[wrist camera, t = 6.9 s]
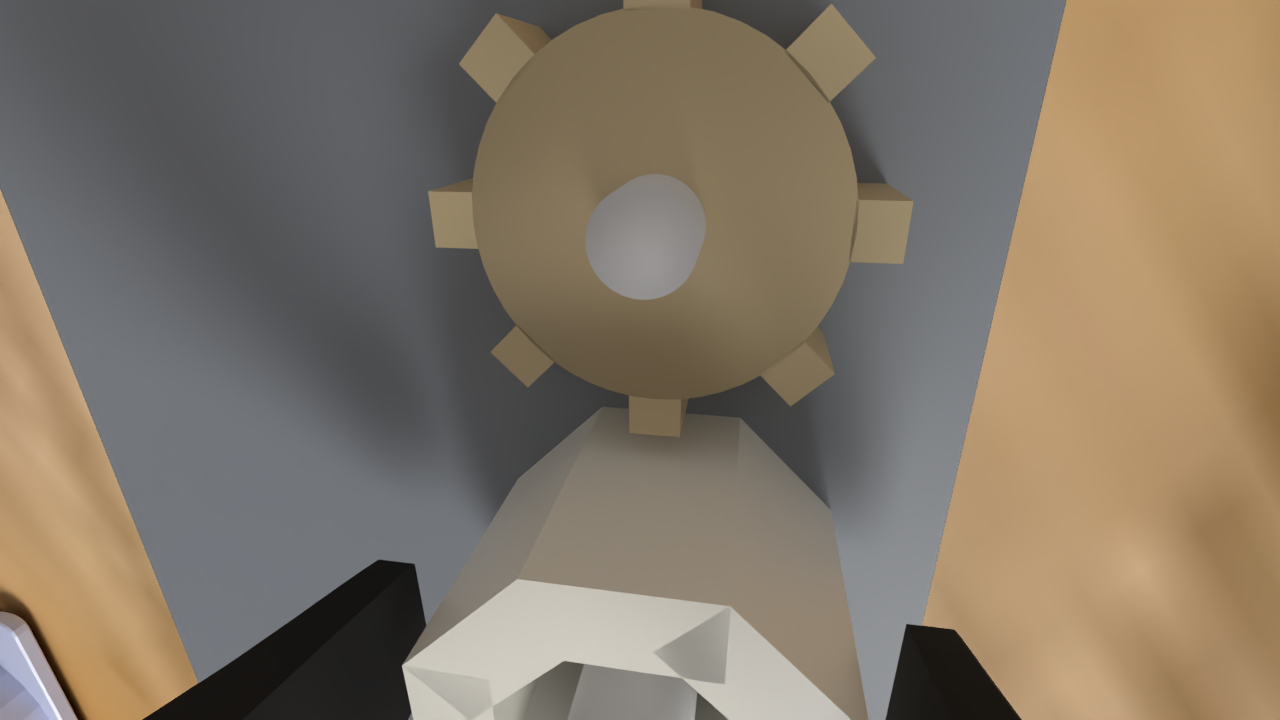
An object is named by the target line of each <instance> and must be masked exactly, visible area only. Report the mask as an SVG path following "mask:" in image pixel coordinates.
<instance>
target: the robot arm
mask: <svg viewBox="0 0 1280 720" xmlns="http://www.w3.org/2000/svg"><path fill="white" fill-rule="evenodd" d="M425 628H426V621H425V615H424V610H423V605H422V599H421V594H420V589H419V584H418V578H417V573H416V568H415V564H412V563H404V562H396V561H388V560H377V561H376V562H374V563H373V564H371V565H369V566H368V567H366V568H365V569H363V570H362V571H360V572H359V573H358V574H356V575H355V576H353V577H352V578H350V579H349V580H347V581H346V582H345V583H343V584H342V585H340V586H339V587H337V588H336V589H335V590H333V591H332V592H330V593H329V594H328V595H326V596H325V597H323V598H322V599H321V600H319V601H318V602H316V603H315V604H313V605H312V606H311V607H309V608H308V609H306V610H305V611H304V612H302V613H301V614H299V615H298V616H297V617H295V618H294V619H292V620H291V621H289V622H288V623H287V624H285V625H284V626H282V627H281V628H279V629H278V630H276V631H275V632H274V633H272V634H271V635H269V636H268V637H266V638H265V639H264V640H262V641H261V642H259V643H258V644H256V645H255V646H253V647H252V648H251V649H249V650H248V651H246V652H245V653H243V654H242V655H241V656H239V657H238V658H236V659H235V660H233V661H232V662H230V663H229V664H227V665H226V666H224V667H223V668H221V669H220V670H218V671H217V672H215V673H214V674H212V675H210V676H209V677H207V678H206V679H204V680H203V681H201V682H200V683H198V684H197V685H195V686H194V687H192V688H190V689H189V690H187V691H186V692H184V693H183V694H181V695H180V696H178V697H177V698H175V699H174V700H172V701H171V702H169V703H167V704H166V705H164V706H163V707H161V708H160V709H158V710H157V711H155V712H154V713H152V714H151V715H149V716H147V717H146V718H144V719H143V720H408V719H409V717H410V715H411V712H412V711H411V706H410V701H409V697H408V692H407V687H406V682H405V678H404V673H403V668H402V665H403V663H404V662H405V660H406V658H407V657H408V655H409V654H410V652H411V650H412V649H413V647H414V646H415V644H416V642H417V641H418V639H419V637H420V636H421V634H422V633H423V631H424V629H425ZM0 720H78V719H77V717H76V715H75V713H74V711H73V709H72V707H71V705H70V703H69V702H68V700H67V698H66V696H65V694H64V692H63V690H62V688H61V686H60V684H59V683H58V681H57V679H56V677H55V675H54V673H53V671H52V669H51V667H50V665H49V664H48V662H47V660H46V658H45V656H44V654H43V652H42V650H41V648H40V646H39V645H38V643H37V641H36V639H35V637H34V635H33V633H32V631H31V629H30V627H29V626H28V624H27V623H26V622H25V621H24V620H23V619H22V618H20V617H19V616H17V615H15V614H12V613H8V612H1V611H0ZM886 720H1021V718H1020V717H1019V716H1018V714H1017V713H1016V712H1015V710H1014V709H1013V708H1012V706H1011V705H1010V704H1009V702H1008V701H1007V700H1006V698H1005V697H1004V696H1003V694H1002V693H1001V691H1000V690H999V689H998V687H997V686H996V685H995V683H994V682H993V681H992V679H991V678H990V677H989V675H988V674H987V672H986V671H985V670H984V668H983V667H982V666H981V664H980V663H979V661H978V660H977V659H976V657H975V656H974V655H973V653H972V652H971V650H970V649H969V648H968V646H967V645H966V644H965V642H964V641H963V639H962V638H961V637H960V636H959V635H958V633H957V632H956V631H955V630H952V629H944V628H936V627H928V626H920V625H911V624H906V628H905V632H904V637H903V642H902V646H901V651H900V655H899V660H898V664H897V669H896V674H895V678H894V683H893V687H892V692H891V697H890V701H889V706H888V710H887V715H886Z"/></svg>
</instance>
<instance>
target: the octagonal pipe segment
mask: <svg viewBox="0 0 1280 720" xmlns="http://www.w3.org/2000/svg"><path fill="white" fill-rule="evenodd" d="M584 664H589V665H595V666H602V667H609V668H616V669H622V670H629V671H636V672H643V673H649V674H656V675H663V676H670V677H677V678H682V679H684V680H685V681H686V682H687V683H688V684H689V685H690V686H691V687H693V688H694V689H695V690H696V691H697V701H696V711H695V720H869V718H868V713H867V707H866V701H865V696H864V690H863V685H862V679H861V674H860V668H859V663H858V657H857V652H856V646H855V640H854V635H853V629H852V624H851V618H850V613H849V607H848V602H847V596H846V590H845V585H844V579H843V574H842V568H841V563H840V557H839V552H838V546H837V540H836V535H835V529H834V524H833V518H832V513H831V510H830V509H829V508H828V507H827V505H826V504H825V503H824V502H823V501H822V500H821V499H820V498H819V497H818V496H817V495H816V494H815V493H814V492H813V491H812V490H811V489H810V488H809V487H808V486H807V485H806V484H805V483H804V482H803V481H802V480H801V479H800V478H799V477H798V476H797V475H796V474H795V473H794V472H793V471H792V470H791V469H790V468H789V467H788V466H787V465H786V464H785V463H784V462H783V461H782V460H781V459H780V458H779V457H778V456H777V455H776V454H775V453H774V452H773V451H772V450H771V449H770V448H769V447H768V446H767V445H766V443H765V442H764V441H763V440H762V439H761V438H760V437H759V436H758V435H757V434H756V433H755V432H754V431H753V430H752V429H751V428H750V427H749V426H748V425H747V424H746V423H745V422H744V421H743V420H742V419H741V418H739V417H727V416H714V415H702V414H689V413H685V417H684V421H683V426H682V430H681V435H680V437H671V436H659V435H647V434H635V433H629V409H627V408H614V407H602V408H600V409H599V410H598V411H597V412H596V413H594V414H593V415H592V416H591V417H590V418H589V419H587V420H586V421H585V422H584V423H583V424H582V425H580V426H579V427H578V428H577V429H576V430H575V431H573V432H572V433H571V434H570V435H569V436H568V437H566V438H565V439H564V440H563V441H562V442H561V443H559V444H558V445H557V446H556V447H555V448H553V449H552V450H551V451H550V452H549V453H548V454H546V455H545V456H544V457H543V458H542V459H541V460H539V461H538V462H537V463H536V464H535V465H534V466H532V467H531V468H530V469H529V470H528V471H527V472H525V473H524V474H523V475H522V476H521V477H519V478H518V480H517V481H516V483H515V485H514V486H513V488H512V489H511V491H510V493H509V494H508V496H507V497H506V499H505V501H504V502H503V504H502V505H501V507H500V509H499V510H498V512H497V514H496V515H495V517H494V518H493V520H492V522H491V523H490V525H489V526H488V528H487V530H486V531H485V533H484V534H483V536H482V538H481V539H480V541H479V542H478V544H477V546H476V547H475V549H474V551H473V552H472V554H471V555H470V557H469V559H468V560H467V562H466V563H465V565H464V567H463V568H462V570H461V571H460V573H459V575H458V576H457V578H456V580H455V581H454V583H453V584H452V586H451V588H450V589H449V591H448V592H447V594H446V596H445V597H444V599H443V600H442V602H441V604H440V605H439V607H438V608H437V610H436V612H435V613H434V615H433V617H432V618H431V620H430V621H429V623H428V625H427V626H426V628H425V629H424V631H423V633H422V634H421V636H420V637H419V639H418V641H417V642H416V644H415V646H414V647H413V649H412V650H411V652H410V654H409V655H408V657H407V658H406V660H405V662H404V663H403V665H402V668H403V673H404V678H405V682H406V687H407V692H408V697H409V701H410V706H411V711H412V716H413V720H567V719H568V716H569V712H570V709H571V706H572V702H573V699H574V696H575V692H576V689H577V686H578V682H579V679H580V676H581V673H582V669H583V666H584Z"/></svg>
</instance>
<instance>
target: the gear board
mask: <svg viewBox="0 0 1280 720" xmlns="http://www.w3.org/2000/svg"><path fill="white" fill-rule="evenodd" d="M1065 4H1066V0H0V189H1V192H2V194H3V197H4V199H5V202H6V204H7V207H8V209H9V212H10V214H11V216H12V219H13V221H14V224H15V226H16V229H17V231H18V234H19V236H20V239H21V241H22V244H23V246H24V249H25V251H26V254H27V256H28V259H29V261H30V264H31V266H32V269H33V271H34V274H35V276H36V279H37V281H38V284H39V286H40V289H41V291H42V294H43V296H44V299H45V301H46V304H47V306H48V309H49V311H50V314H51V316H52V319H53V321H54V324H55V326H56V329H57V331H58V334H59V336H60V339H61V341H62V344H63V346H64V349H65V351H66V354H67V356H68V359H69V361H70V364H71V366H72V369H73V371H74V374H75V376H76V379H77V381H78V383H79V386H80V388H81V391H82V393H83V396H84V398H85V401H86V403H87V406H88V408H89V411H90V413H91V416H92V418H93V421H94V423H95V426H96V428H97V431H98V433H99V436H100V438H101V441H102V443H103V446H104V448H105V451H106V453H107V456H108V458H109V461H110V463H111V466H112V468H113V471H114V473H115V476H116V478H117V481H118V483H119V486H120V488H121V491H122V493H123V496H124V498H125V501H126V503H127V506H128V508H129V511H130V513H131V516H132V518H133V521H134V523H135V526H136V528H137V531H138V533H139V536H140V538H141V541H142V543H143V546H144V548H145V550H146V553H147V555H148V558H149V560H150V563H151V565H152V568H153V570H154V573H155V575H156V578H157V580H158V583H159V585H160V588H161V590H162V593H163V595H164V598H165V600H166V603H167V605H168V608H169V610H170V613H171V615H172V618H173V620H174V623H175V625H176V628H177V630H178V633H179V635H180V638H181V640H182V643H183V645H184V648H185V650H186V653H187V655H188V658H189V660H190V663H191V665H192V668H193V670H194V673H195V675H196V678H197V680H198V683H200V682H201V681H203V680H204V679H206V678H207V677H209V676H210V675H212V674H214V673H215V672H217V671H218V670H220V669H221V668H223V667H224V666H226V665H227V664H229V663H230V662H232V661H233V660H235V659H236V658H238V657H239V656H241V655H242V654H243V653H245V652H246V651H248V650H249V649H251V648H252V647H253V646H255V645H256V644H258V643H259V642H261V641H262V640H264V639H265V638H266V637H268V636H269V635H271V634H272V633H274V632H275V631H276V630H278V629H279V628H281V627H282V626H284V625H285V624H287V623H288V622H289V621H291V620H292V619H294V618H295V617H297V616H298V615H299V614H301V613H302V612H304V611H305V610H306V609H308V608H309V607H311V606H312V605H313V604H315V603H316V602H318V601H319V600H321V599H322V598H323V597H325V596H326V595H328V594H329V593H330V592H332V591H333V590H335V589H336V588H337V587H339V586H340V585H342V584H343V583H345V582H346V581H347V580H349V579H350V578H352V577H353V576H355V575H356V574H358V573H359V572H360V571H362V570H363V569H365V568H366V567H368V566H369V565H371V564H373V563H374V562H376V561H377V560H388V561H396V562H404V563H412V564H415V568H416V573H417V578H418V584H419V589H420V594H421V599H422V605H423V610H424V615H425V621H426V626H427V625H428V623H429V621H430V620H431V618H432V617H433V615H434V613H435V612H436V610H437V608H438V607H439V605H440V604H441V602H442V600H443V599H444V597H445V596H446V594H447V592H448V591H449V589H450V588H451V586H452V584H453V583H454V581H455V580H456V578H457V576H458V575H459V573H460V571H461V570H462V568H463V567H464V565H465V563H466V562H467V560H468V559H469V557H470V555H471V554H472V552H473V551H474V549H475V547H476V546H477V544H478V542H479V541H480V539H481V538H482V536H483V534H484V533H485V531H486V530H487V528H488V526H489V525H490V523H491V522H492V520H493V518H494V517H495V515H496V514H497V512H498V510H499V509H500V507H501V505H502V504H503V502H504V501H505V499H506V497H507V496H508V494H509V493H510V491H511V489H512V488H513V486H514V485H515V483H516V481H517V480H518V478H519V477H521V476H522V475H523V474H524V473H525V472H527V471H528V470H529V469H530V468H531V467H532V466H534V465H535V464H536V463H537V462H538V461H539V460H541V459H542V458H543V457H544V456H545V455H546V454H548V453H549V452H550V451H551V450H552V449H553V448H555V447H556V446H557V445H558V444H559V443H561V442H562V441H563V440H564V439H565V438H566V437H568V436H569V435H570V434H571V433H572V432H573V431H575V430H576V429H577V428H578V427H579V426H580V425H582V424H583V423H584V422H585V421H586V420H587V419H589V418H590V417H591V416H592V415H593V414H594V413H596V412H597V411H598V410H599V409H600V408H602V407H614V408H627V409H629V433H635V434H647V435H659V436H671V437H680V435H681V430H682V426H683V421H684V417H685V413H689V414H702V415H714V416H727V417H739V418H741V419H742V420H743V421H744V422H745V423H746V424H747V425H748V426H749V427H750V428H751V429H752V430H753V431H754V432H755V433H756V434H757V435H758V436H759V437H760V438H761V439H762V440H763V441H764V442H765V443H766V445H767V446H768V447H769V448H770V449H771V450H772V451H773V452H774V453H775V454H776V455H777V456H778V457H779V458H780V459H781V460H782V461H783V462H784V463H785V464H786V465H787V466H788V467H789V468H790V469H791V470H792V471H793V472H794V473H795V474H796V475H797V476H798V477H799V478H800V479H801V480H802V481H803V482H804V483H805V484H806V485H807V486H808V487H809V488H810V489H811V490H812V491H813V492H814V493H815V494H816V495H817V496H818V497H819V498H820V499H821V500H822V501H823V502H824V503H825V504H826V505H827V507H828V508H829V509H830V510H831V513H832V518H833V524H834V529H835V535H836V540H837V546H838V552H839V557H840V563H841V568H842V574H843V579H844V585H845V590H846V596H847V602H848V607H849V613H850V618H851V624H852V629H853V635H854V640H855V646H856V652H857V657H858V663H859V668H860V674H861V679H862V685H863V690H864V696H865V701H866V707H867V713H868V718H869V720H886V715H887V710H888V706H889V701H890V697H891V692H892V687H893V683H894V678H895V674H896V669H897V664H898V660H899V655H900V651H901V646H902V642H903V637H904V632H905V628H906V624H911V625H920V626H922V621H923V617H924V613H925V609H926V604H927V600H928V596H929V591H930V587H931V583H932V578H933V574H934V570H935V565H936V561H937V557H938V552H939V548H940V544H941V539H942V535H943V531H944V526H945V522H946V518H947V514H948V509H949V505H950V501H951V496H952V492H953V488H954V483H955V479H956V475H957V470H958V466H959V462H960V457H961V453H962V449H963V444H964V440H965V436H966V431H967V427H968V423H969V419H970V414H971V410H972V406H973V401H974V397H975V393H976V388H977V384H978V380H979V375H980V371H981V367H982V362H983V358H984V354H985V349H986V345H987V341H988V336H989V332H990V328H991V324H992V319H993V315H994V311H995V306H996V302H997V298H998V293H999V289H1000V285H1001V280H1002V276H1003V272H1004V267H1005V263H1006V259H1007V254H1008V250H1009V246H1010V241H1011V237H1012V233H1013V229H1014V224H1015V220H1016V216H1017V211H1018V207H1019V203H1020V198H1021V194H1022V190H1023V185H1024V181H1025V177H1026V172H1027V168H1028V164H1029V159H1030V155H1031V151H1032V147H1033V142H1034V138H1035V134H1036V129H1037V125H1038V121H1039V116H1040V112H1041V108H1042V103H1043V99H1044V95H1045V90H1046V86H1047V82H1048V77H1049V73H1050V69H1051V64H1052V60H1053V56H1054V52H1055V47H1056V43H1057V39H1058V34H1059V30H1060V26H1061V21H1062V17H1063V13H1064V8H1065ZM696 701H697V691H696V690H695V689H694V688H693V687H691V686H690V685H689V684H688V683H687V682H686V681H685V680H684V679H682V678H677V677H670V676H663V675H656V674H649V673H643V672H636V671H629V670H622V669H616V668H609V667H602V666H595V665H589V664H584V666H583V669H582V673H581V676H580V679H579V682H578V686H577V689H576V692H575V696H574V699H573V702H572V706H571V709H570V712H569V716H568V719H567V720H695V711H696ZM408 720H413V716H412V712H411V715H410V717H409V719H408Z"/></svg>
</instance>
